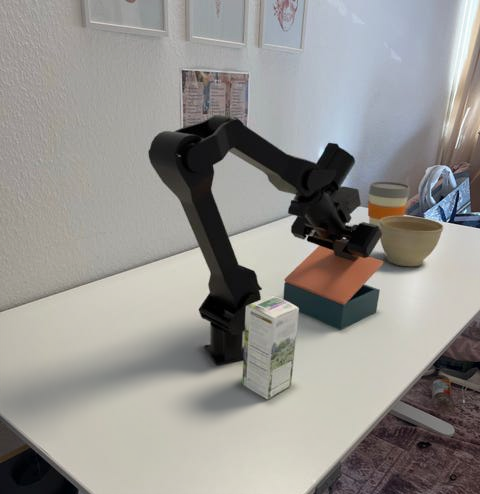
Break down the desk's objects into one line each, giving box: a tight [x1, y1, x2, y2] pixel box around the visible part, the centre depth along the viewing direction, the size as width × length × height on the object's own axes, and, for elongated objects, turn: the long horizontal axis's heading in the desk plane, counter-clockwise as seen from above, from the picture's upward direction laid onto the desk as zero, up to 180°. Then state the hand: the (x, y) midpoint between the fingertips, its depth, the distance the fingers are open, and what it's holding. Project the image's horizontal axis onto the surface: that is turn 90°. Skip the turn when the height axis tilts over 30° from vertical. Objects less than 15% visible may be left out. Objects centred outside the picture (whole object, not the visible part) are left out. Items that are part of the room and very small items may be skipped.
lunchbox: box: [282, 281, 381, 331], centre depth 102 cm, size 13×16×5 cm
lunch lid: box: [283, 238, 384, 305], centre depth 98 cm, size 13×16×5 cm
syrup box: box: [241, 295, 300, 400], centre depth 74 cm, size 6×6×14 cm
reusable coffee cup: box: [367, 181, 411, 228], centre depth 155 cm, size 13×13×15 cm
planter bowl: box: [379, 215, 445, 267], centre depth 130 cm, size 16×16×11 cm
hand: (348, 253), depth 101 cm, fingers closed on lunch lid, 5 cm apart
